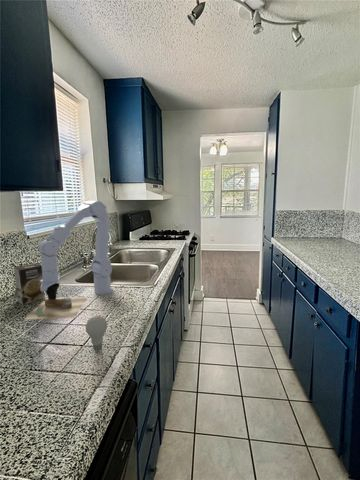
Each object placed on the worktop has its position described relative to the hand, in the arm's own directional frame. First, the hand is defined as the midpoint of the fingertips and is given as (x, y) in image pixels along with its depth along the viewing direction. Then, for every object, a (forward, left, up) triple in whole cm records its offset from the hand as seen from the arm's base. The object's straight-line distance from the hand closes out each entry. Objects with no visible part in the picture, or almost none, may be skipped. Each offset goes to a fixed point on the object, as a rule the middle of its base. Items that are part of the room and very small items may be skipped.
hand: (52, 301), depth 104 cm
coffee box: (-7, -12, -3) cm, 14 cm away
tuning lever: (+1, +2, -2) cm, 3 cm away
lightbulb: (+31, +25, -3) cm, 40 cm away
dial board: (+1, +3, -3) cm, 5 cm away
